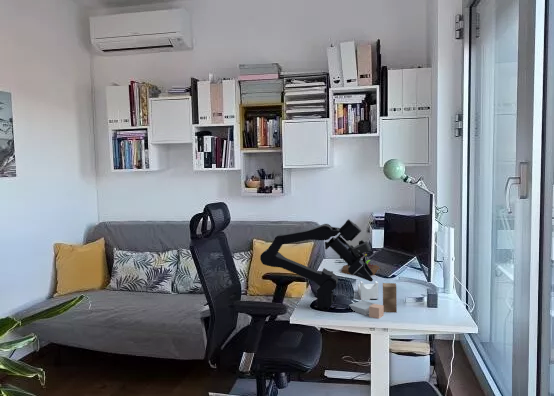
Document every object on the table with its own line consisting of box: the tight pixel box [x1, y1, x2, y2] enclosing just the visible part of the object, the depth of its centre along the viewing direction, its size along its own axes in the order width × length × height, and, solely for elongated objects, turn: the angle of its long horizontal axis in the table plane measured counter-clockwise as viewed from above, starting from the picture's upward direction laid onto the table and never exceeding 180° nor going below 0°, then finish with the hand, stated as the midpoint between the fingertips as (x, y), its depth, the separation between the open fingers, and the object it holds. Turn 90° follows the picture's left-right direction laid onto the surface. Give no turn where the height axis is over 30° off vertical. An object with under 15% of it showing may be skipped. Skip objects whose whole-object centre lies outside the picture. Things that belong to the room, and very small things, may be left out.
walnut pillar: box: [382, 282, 398, 314], centre depth 182 cm, size 5×5×10 cm
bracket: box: [357, 280, 379, 301], centre depth 202 cm, size 13×7×8 cm, turn 176°
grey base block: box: [348, 300, 375, 315], centre depth 183 cm, size 8×8×2 cm
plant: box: [341, 252, 380, 277], centre depth 245 cm, size 20×20×11 cm
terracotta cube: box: [368, 303, 385, 319], centre depth 175 cm, size 4×4×4 cm
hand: (372, 277), depth 182 cm, fingers open, 9 cm apart
